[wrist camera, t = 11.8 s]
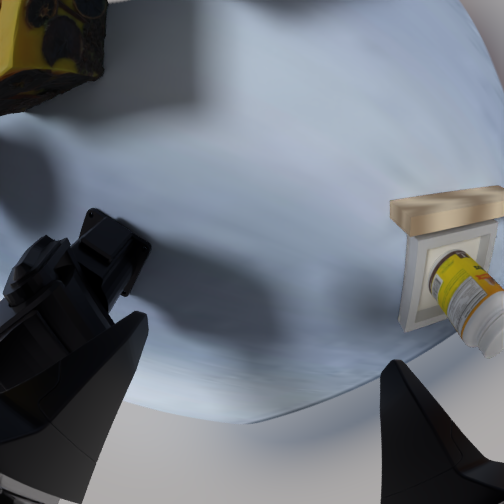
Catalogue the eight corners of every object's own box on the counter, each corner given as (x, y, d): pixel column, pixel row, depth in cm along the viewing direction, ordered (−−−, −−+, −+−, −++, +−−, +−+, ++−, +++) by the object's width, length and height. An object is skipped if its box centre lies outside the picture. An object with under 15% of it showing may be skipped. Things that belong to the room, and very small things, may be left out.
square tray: (397, 319, 25) (404, 332, 23) (407, 230, 20) (418, 241, 18) (469, 296, 24) (477, 306, 22) (486, 214, 19) (498, 222, 17)
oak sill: (390, 218, 20) (410, 236, 17) (389, 200, 19) (410, 217, 16) (497, 199, 18) (518, 212, 15) (498, 185, 17) (520, 197, 14)
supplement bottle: (472, 265, 21) (526, 328, 12) (437, 302, 23) (483, 372, 14) (455, 235, 20) (523, 301, 11) (416, 276, 22) (471, 356, 13)
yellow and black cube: (22, 113, 15) (-60, 136, 6) (27, 24, 10) (-46, 19, 1) (107, 79, 15) (10, 74, 6) (114, -21, 10) (44, -63, 1)
